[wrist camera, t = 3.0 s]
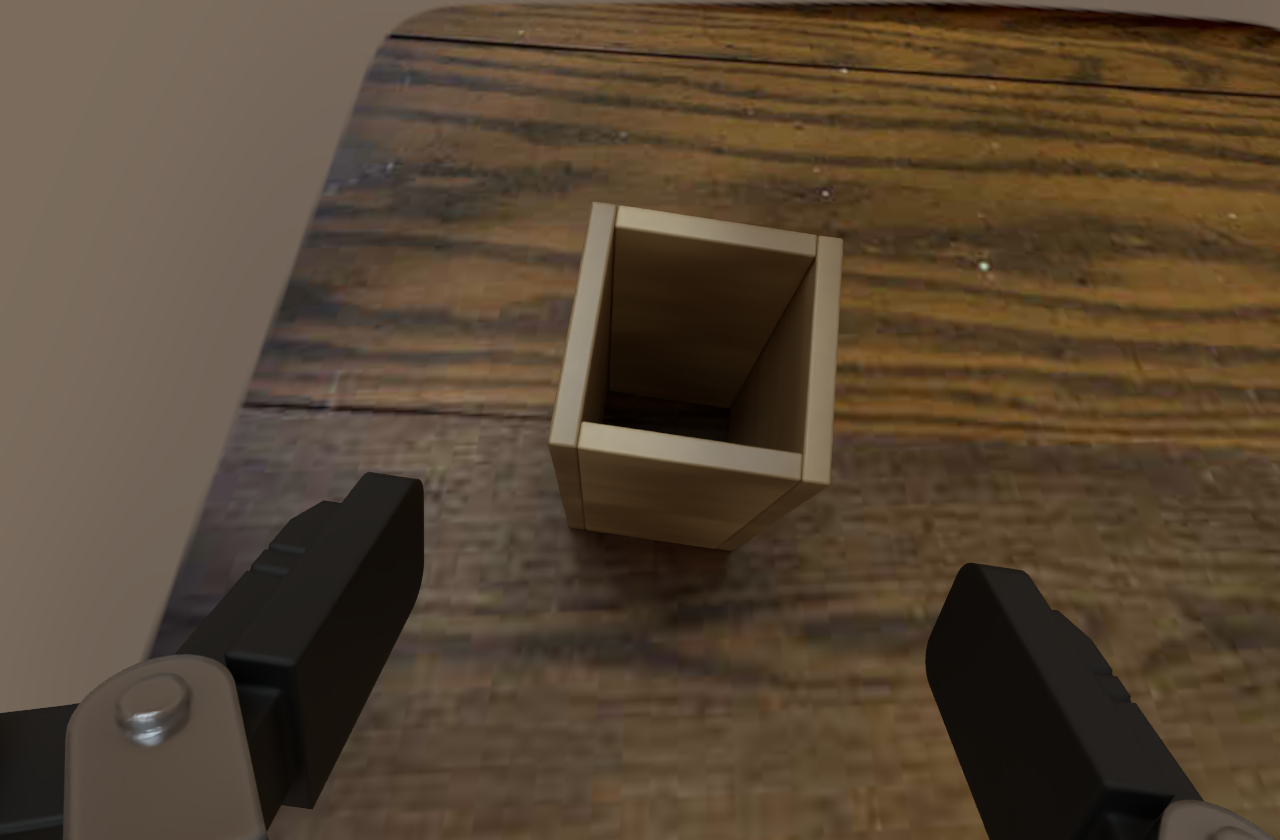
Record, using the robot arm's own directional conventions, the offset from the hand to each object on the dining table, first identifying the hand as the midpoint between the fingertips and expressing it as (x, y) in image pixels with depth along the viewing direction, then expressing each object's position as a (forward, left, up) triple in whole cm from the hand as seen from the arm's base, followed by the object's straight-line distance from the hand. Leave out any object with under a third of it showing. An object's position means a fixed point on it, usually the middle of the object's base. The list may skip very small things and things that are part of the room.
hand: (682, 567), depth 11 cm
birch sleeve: (0, +4, -10) cm, 11 cm away
